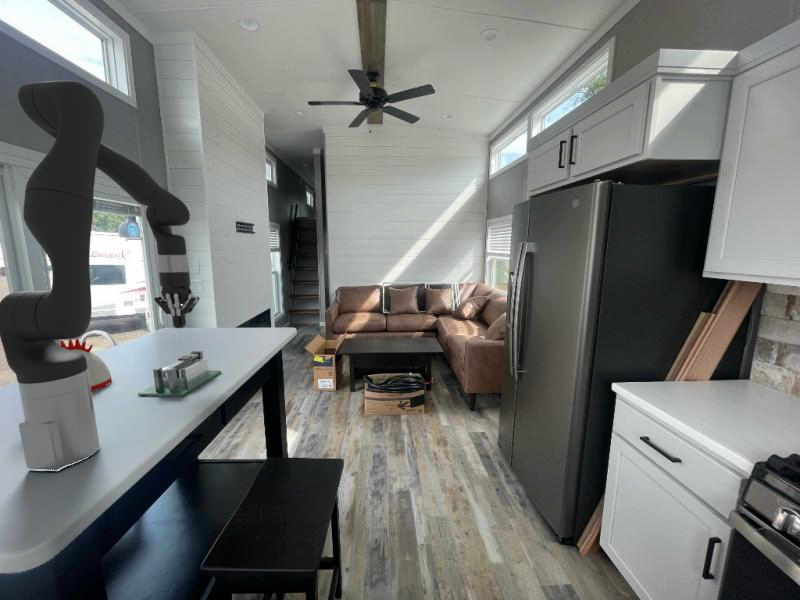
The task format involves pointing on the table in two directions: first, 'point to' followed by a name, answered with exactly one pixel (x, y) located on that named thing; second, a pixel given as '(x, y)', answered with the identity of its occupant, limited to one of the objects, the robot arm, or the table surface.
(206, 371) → the heatsink
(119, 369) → the table surface
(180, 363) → the silver flat bar
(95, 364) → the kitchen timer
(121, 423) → the table surface
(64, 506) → the table surface
